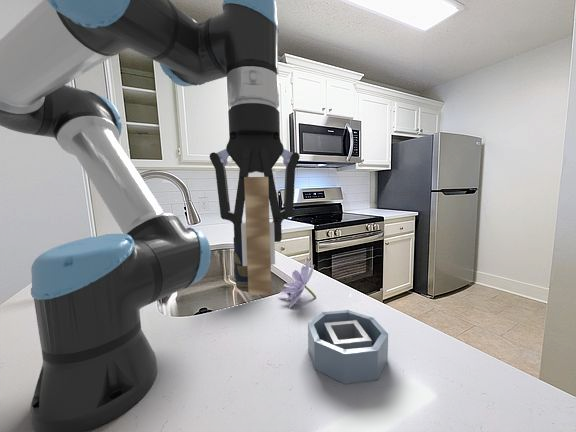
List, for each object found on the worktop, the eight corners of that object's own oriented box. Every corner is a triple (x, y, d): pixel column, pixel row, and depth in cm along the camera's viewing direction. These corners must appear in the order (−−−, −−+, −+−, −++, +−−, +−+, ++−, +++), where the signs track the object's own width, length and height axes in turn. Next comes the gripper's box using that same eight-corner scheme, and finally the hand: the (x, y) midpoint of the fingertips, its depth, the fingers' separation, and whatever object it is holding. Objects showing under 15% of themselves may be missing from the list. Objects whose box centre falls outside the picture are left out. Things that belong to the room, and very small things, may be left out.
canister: (261, 295, 71) (259, 233, 69) (230, 293, 72) (227, 233, 70) (270, 282, 80) (268, 228, 78) (242, 281, 82) (240, 227, 80)
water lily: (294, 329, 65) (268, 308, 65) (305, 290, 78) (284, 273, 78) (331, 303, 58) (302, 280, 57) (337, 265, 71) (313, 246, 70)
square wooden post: (248, 295, 38) (244, 177, 36) (249, 286, 41) (245, 178, 39) (271, 294, 38) (268, 176, 36) (270, 285, 41) (267, 177, 39)
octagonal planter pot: (320, 387, 38) (320, 356, 37) (304, 336, 50) (304, 313, 50) (400, 377, 39) (400, 348, 39) (364, 330, 52) (365, 308, 51)
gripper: (189, 98, 32) (199, 273, 34) (314, 101, 34) (315, 267, 36) (202, 115, 39) (210, 258, 42) (304, 117, 41) (305, 253, 44)
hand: (259, 262), depth 39 cm, fingers closed on square wooden post, 3 cm apart
